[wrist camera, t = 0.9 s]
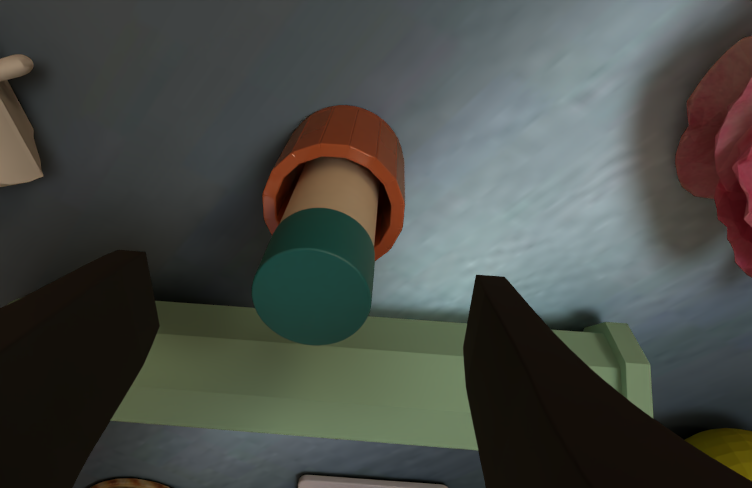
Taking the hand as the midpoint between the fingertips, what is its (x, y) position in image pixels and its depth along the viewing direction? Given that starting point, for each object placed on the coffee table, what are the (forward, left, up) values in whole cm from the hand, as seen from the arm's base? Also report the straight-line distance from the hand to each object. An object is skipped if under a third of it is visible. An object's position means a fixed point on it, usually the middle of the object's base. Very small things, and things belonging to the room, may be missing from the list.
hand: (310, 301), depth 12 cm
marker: (0, 0, -8) cm, 8 cm away
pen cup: (0, 0, -8) cm, 9 cm away
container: (-8, +1, -9) cm, 12 cm away
